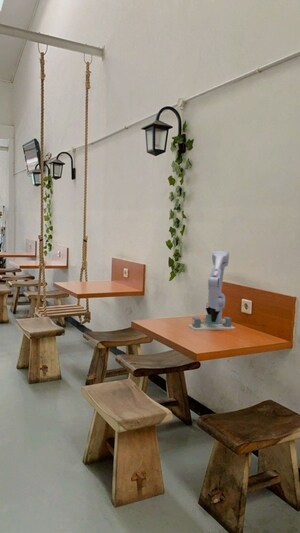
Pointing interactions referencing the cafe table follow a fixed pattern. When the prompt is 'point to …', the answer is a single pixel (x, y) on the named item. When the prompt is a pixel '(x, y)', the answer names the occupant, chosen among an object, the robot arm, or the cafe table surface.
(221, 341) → the cafe table surface
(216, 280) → the robot arm
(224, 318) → the shaft stand
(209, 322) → the teal block
